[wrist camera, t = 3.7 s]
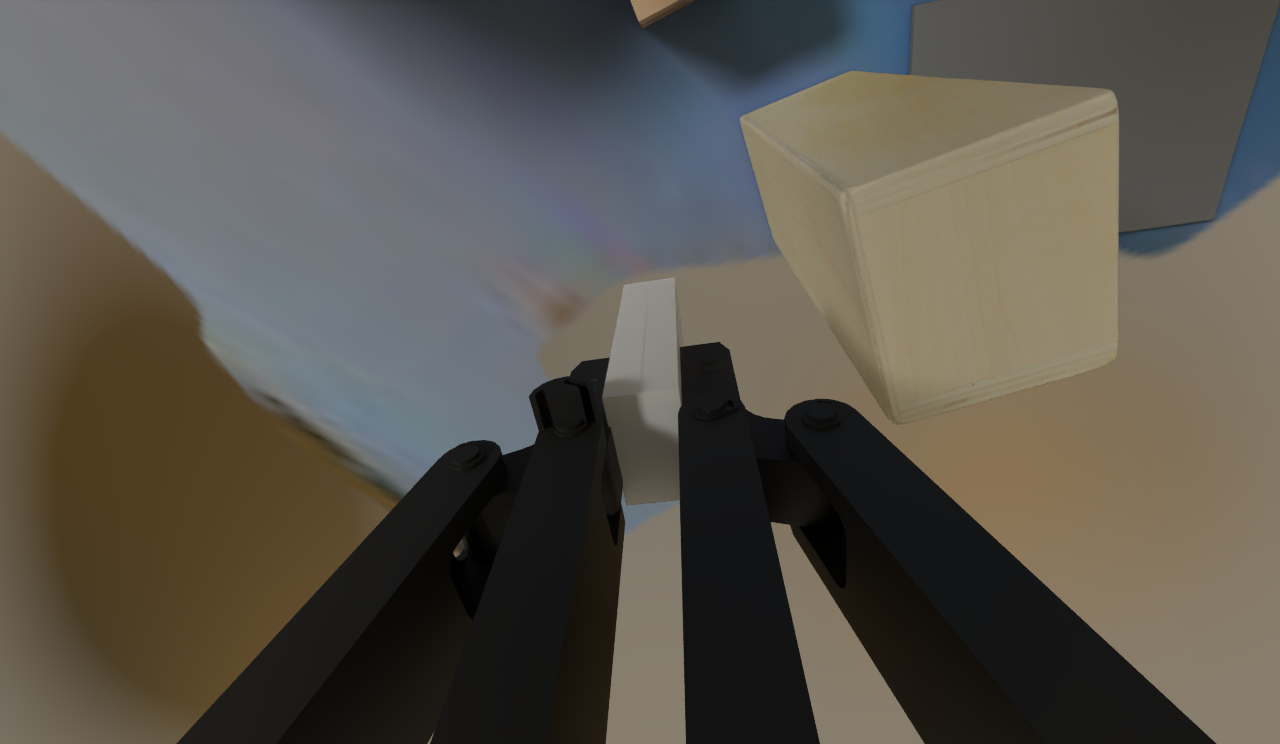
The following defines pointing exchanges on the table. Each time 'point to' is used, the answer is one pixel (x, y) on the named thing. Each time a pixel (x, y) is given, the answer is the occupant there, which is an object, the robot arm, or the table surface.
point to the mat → (1122, 80)
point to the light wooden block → (948, 229)
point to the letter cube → (656, 9)
